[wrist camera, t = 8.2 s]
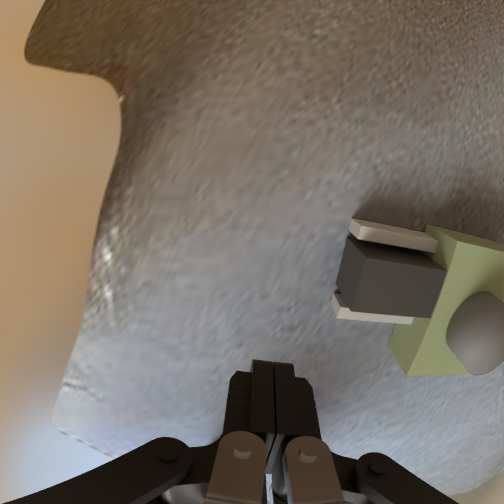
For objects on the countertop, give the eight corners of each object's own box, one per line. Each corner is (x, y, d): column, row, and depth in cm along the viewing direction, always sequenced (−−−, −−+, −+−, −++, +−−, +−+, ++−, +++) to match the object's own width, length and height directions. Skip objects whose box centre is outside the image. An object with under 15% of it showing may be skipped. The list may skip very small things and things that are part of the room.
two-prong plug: (493, 240, 24) (550, 272, 16) (455, 346, 28) (493, 393, 20) (353, 208, 24) (397, 239, 16) (320, 339, 28) (339, 405, 20)
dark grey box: (418, 249, 25) (447, 270, 20) (406, 291, 26) (430, 318, 21) (346, 237, 25) (365, 257, 20) (335, 282, 26) (350, 311, 21)
